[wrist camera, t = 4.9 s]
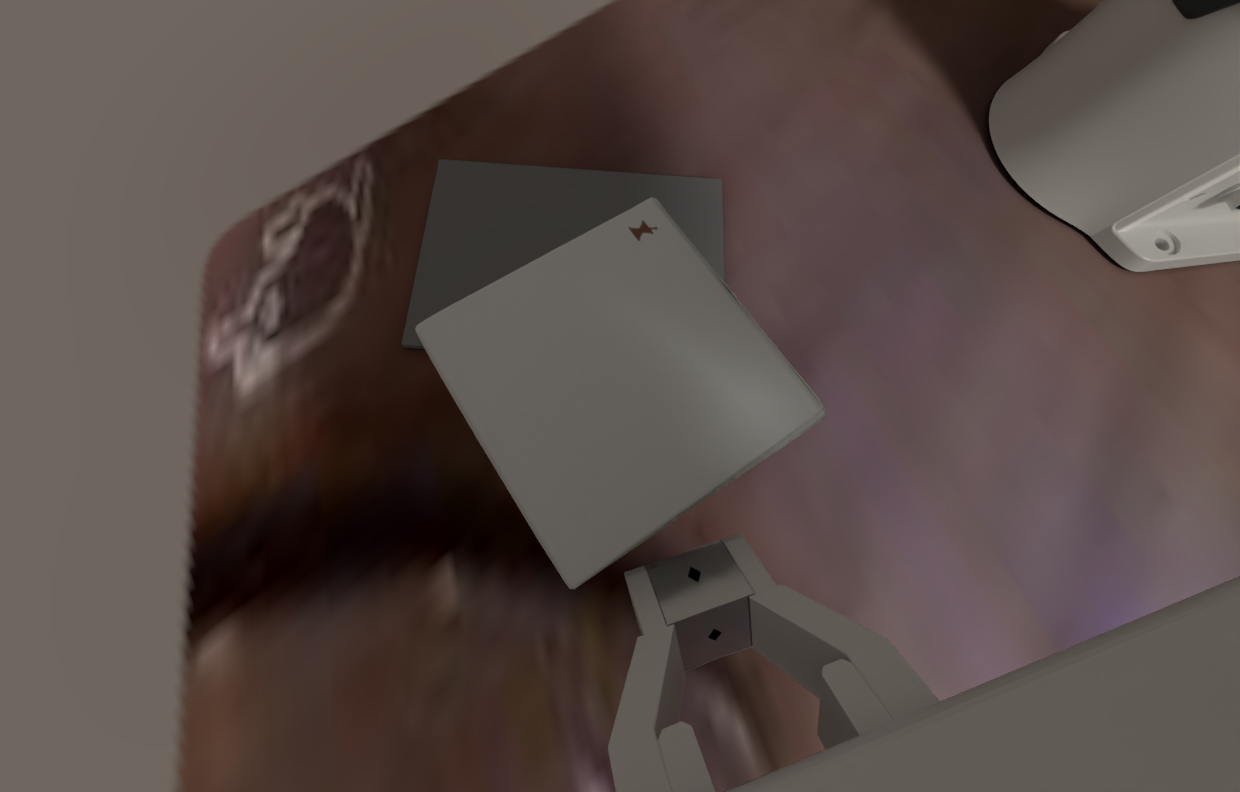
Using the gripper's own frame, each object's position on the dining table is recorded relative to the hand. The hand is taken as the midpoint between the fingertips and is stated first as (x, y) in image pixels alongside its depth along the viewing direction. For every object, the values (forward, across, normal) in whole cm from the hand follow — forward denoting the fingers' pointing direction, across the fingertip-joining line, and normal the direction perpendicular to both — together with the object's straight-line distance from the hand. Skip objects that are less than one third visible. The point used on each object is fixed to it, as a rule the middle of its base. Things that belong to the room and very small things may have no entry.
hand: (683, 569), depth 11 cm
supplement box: (+11, 0, +4) cm, 12 cm away
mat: (+19, -1, -4) cm, 19 cm away
